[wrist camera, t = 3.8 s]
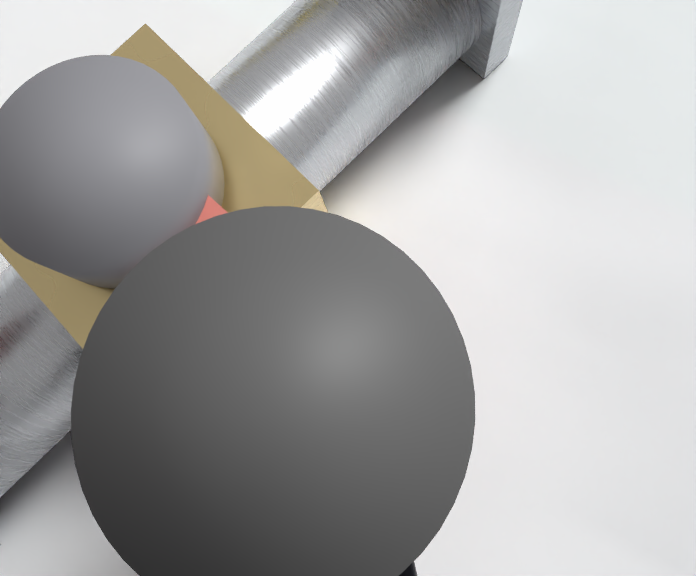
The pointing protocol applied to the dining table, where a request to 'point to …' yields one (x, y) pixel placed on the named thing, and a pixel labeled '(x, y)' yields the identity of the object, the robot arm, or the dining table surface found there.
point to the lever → (232, 346)
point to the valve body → (246, 160)
